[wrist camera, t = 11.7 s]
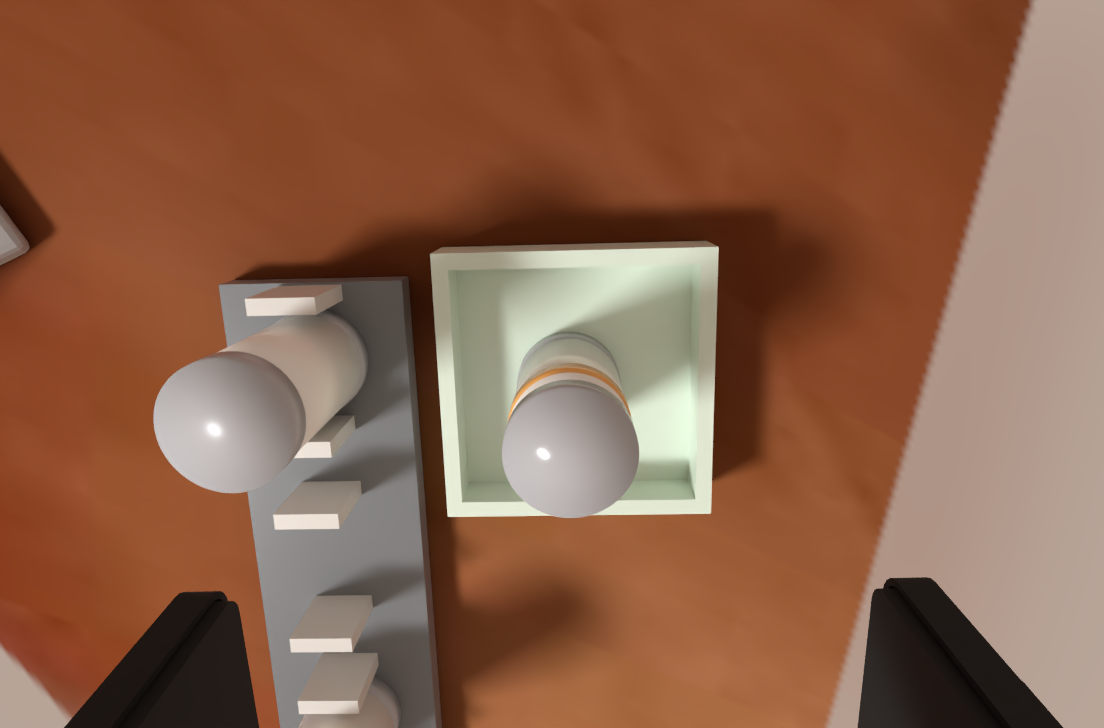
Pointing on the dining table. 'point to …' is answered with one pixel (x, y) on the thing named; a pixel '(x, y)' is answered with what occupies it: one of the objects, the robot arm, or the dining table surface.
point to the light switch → (10, 239)
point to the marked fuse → (569, 429)
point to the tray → (600, 312)
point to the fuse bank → (322, 489)
